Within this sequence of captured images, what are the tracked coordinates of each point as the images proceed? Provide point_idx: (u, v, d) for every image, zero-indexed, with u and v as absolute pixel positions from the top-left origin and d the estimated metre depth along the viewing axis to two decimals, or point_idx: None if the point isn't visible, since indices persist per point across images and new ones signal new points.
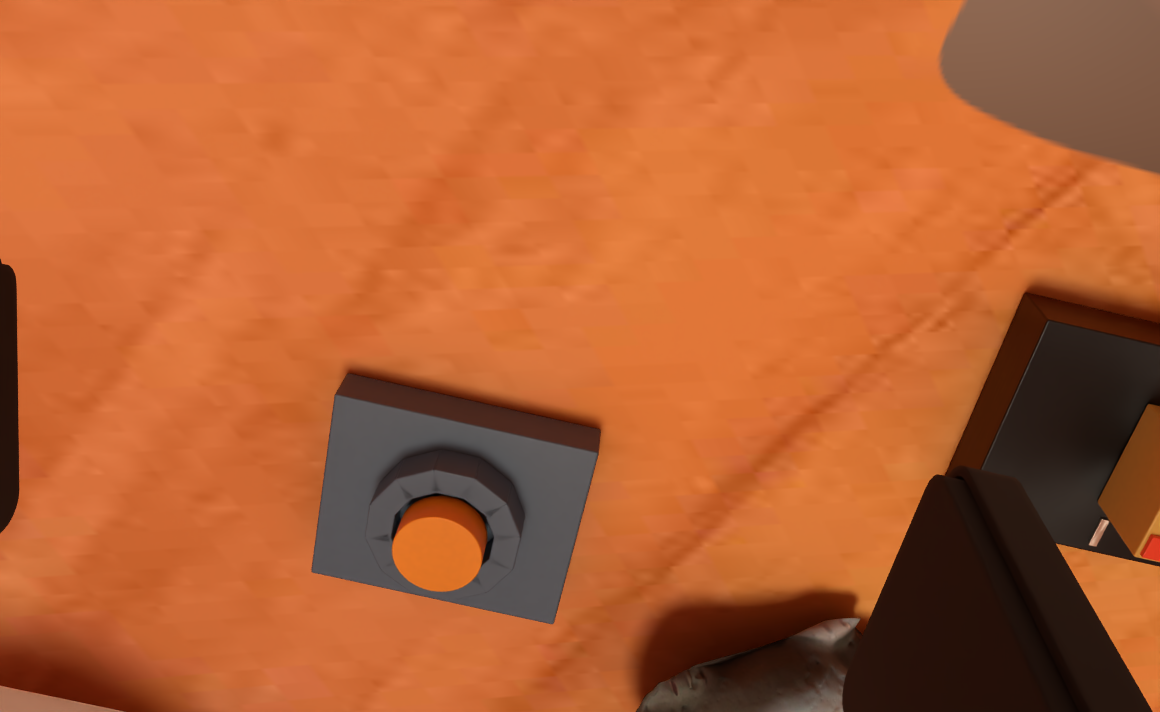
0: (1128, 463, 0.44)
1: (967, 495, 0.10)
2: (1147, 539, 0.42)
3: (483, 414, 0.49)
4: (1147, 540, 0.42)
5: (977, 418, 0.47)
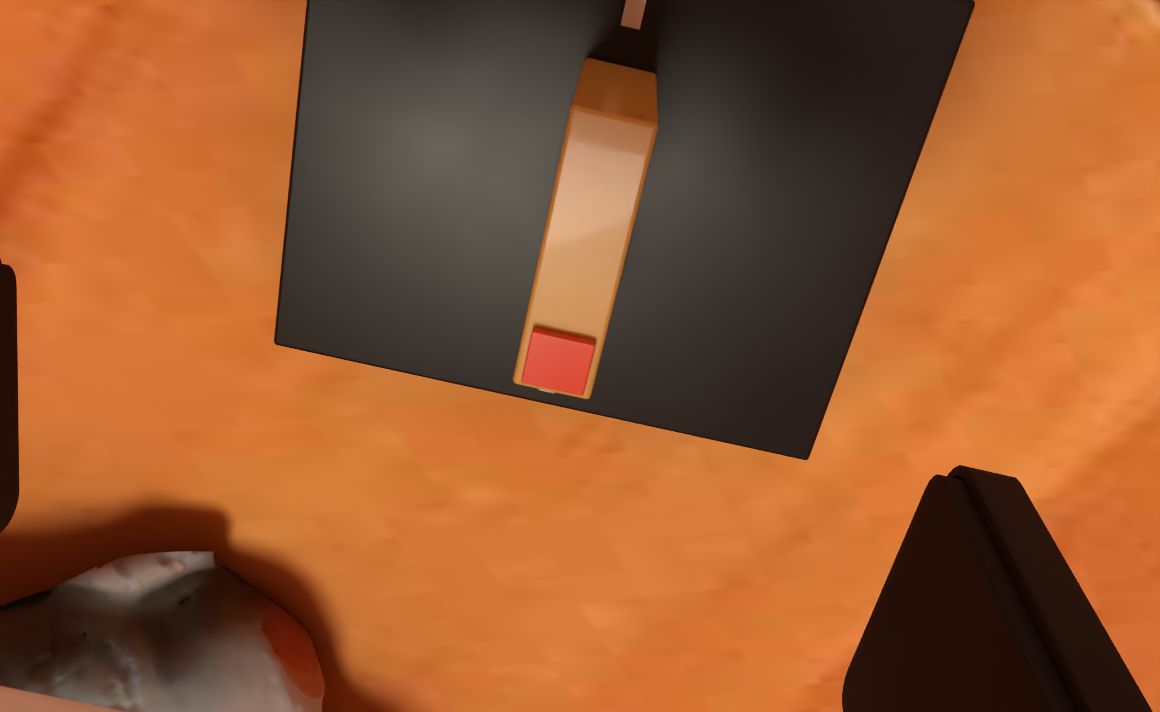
0: None
1: (967, 495, 0.10)
2: (527, 339, 0.18)
3: None
4: (530, 341, 0.18)
5: None
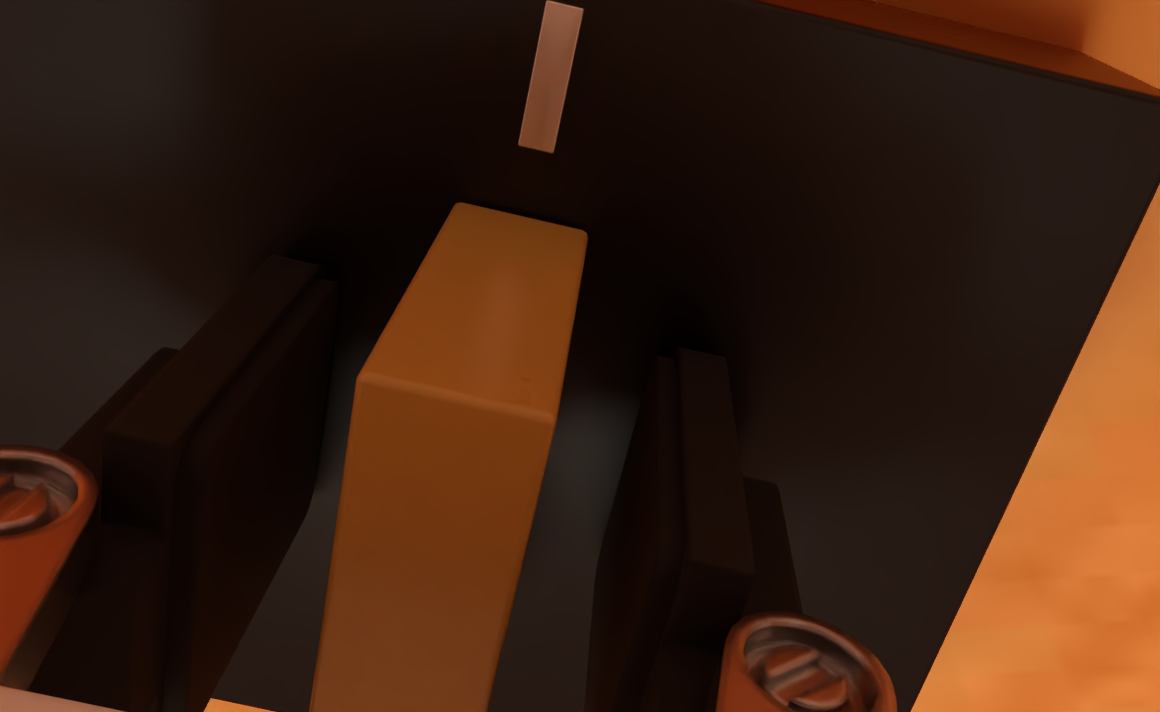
0: None
1: (671, 369, 0.11)
2: None
3: None
4: None
5: None
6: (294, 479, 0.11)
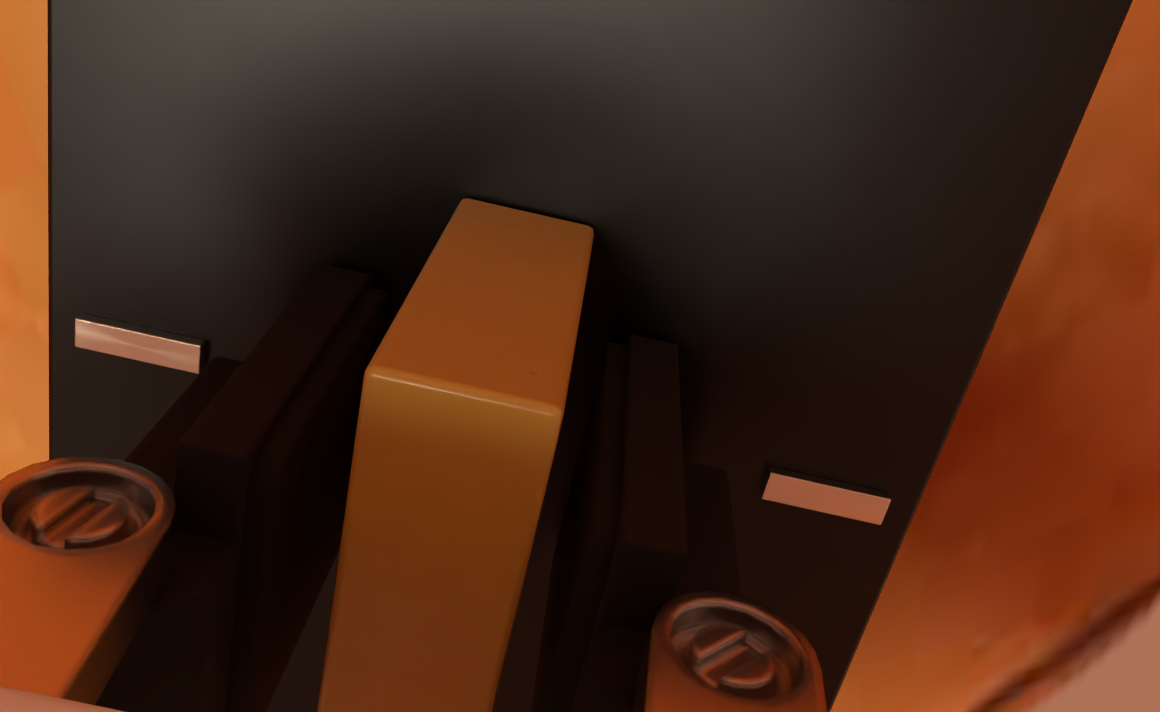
0: None
1: (622, 356, 0.11)
2: None
3: None
4: None
5: None
6: (344, 487, 0.11)
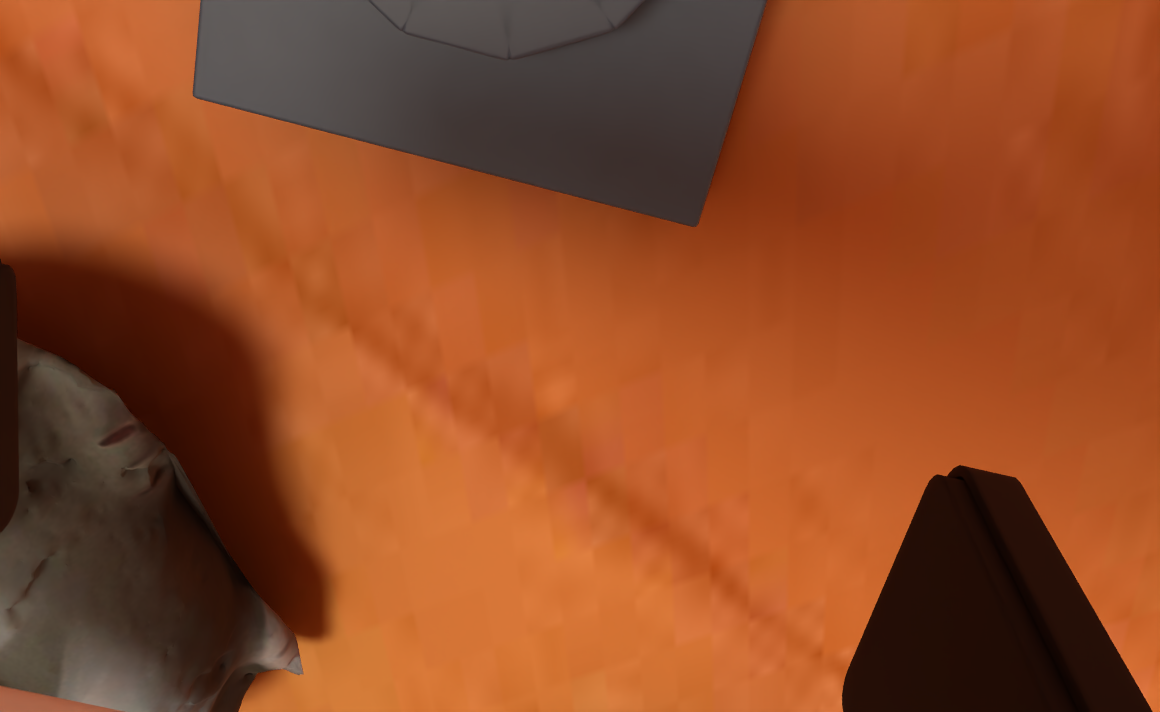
0: None
1: (967, 495, 0.10)
2: None
3: None
4: None
5: None
6: None
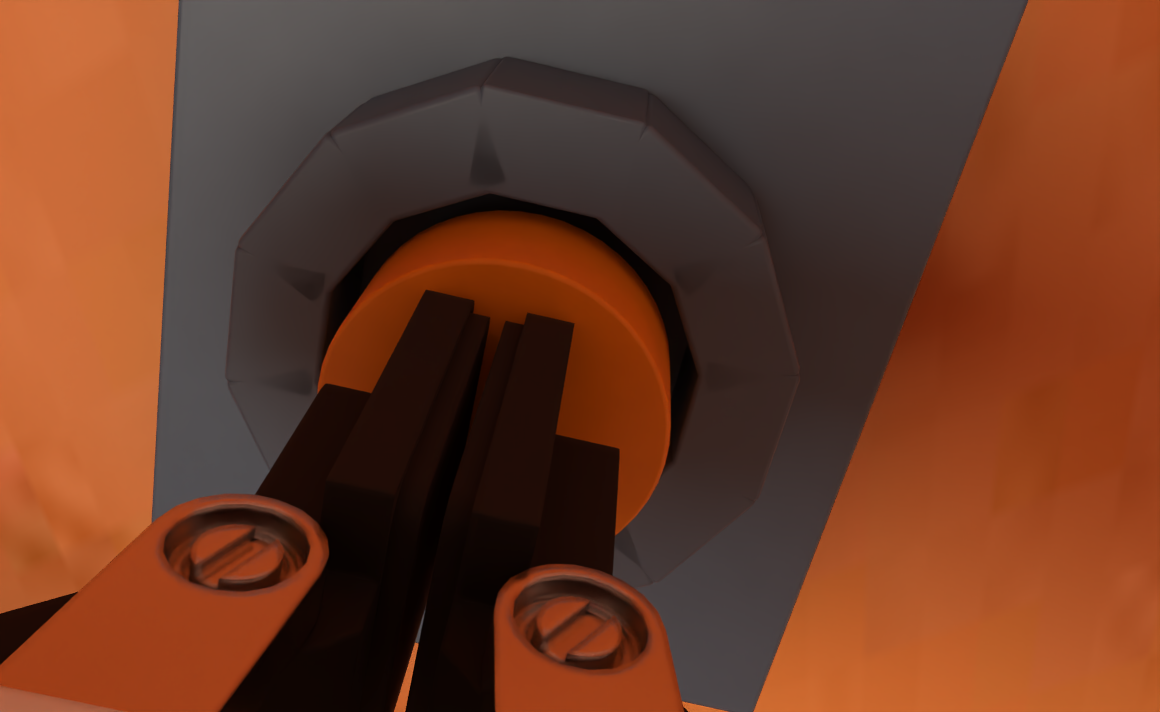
0: None
1: (515, 334, 0.11)
2: None
3: None
4: None
5: None
6: None
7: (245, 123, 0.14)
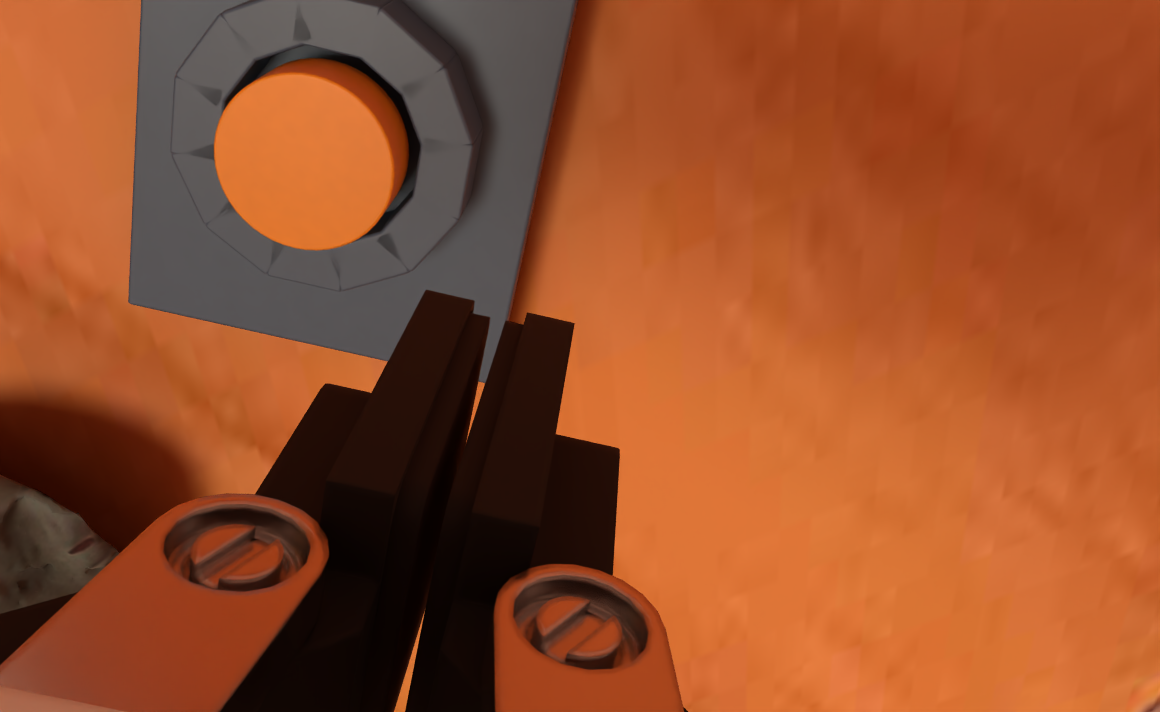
0: None
1: (514, 334, 0.11)
2: None
3: (537, 186, 0.28)
4: None
5: None
6: None
7: (180, 15, 0.25)
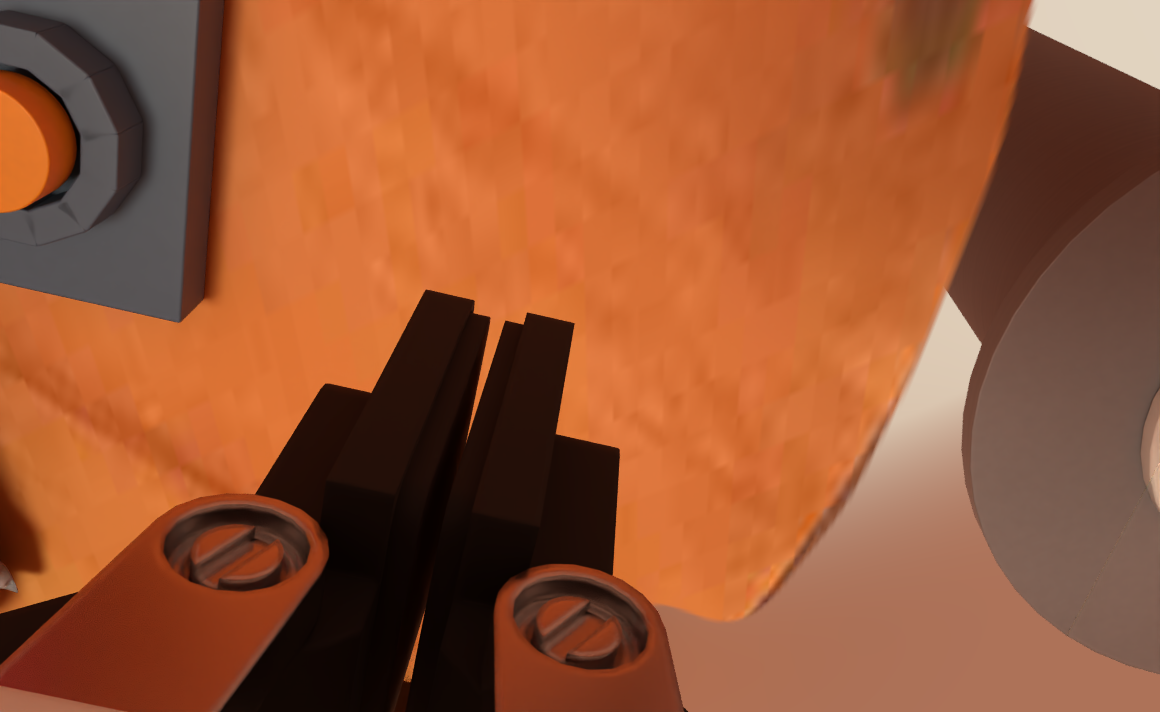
0: None
1: (515, 334, 0.11)
2: None
3: (202, 167, 0.36)
4: None
5: None
6: None
7: None
